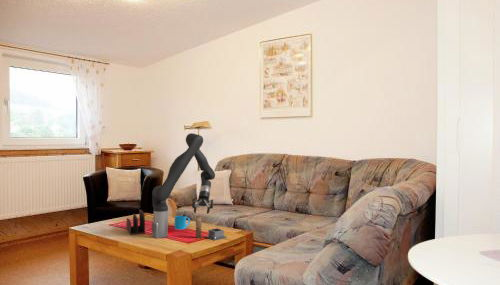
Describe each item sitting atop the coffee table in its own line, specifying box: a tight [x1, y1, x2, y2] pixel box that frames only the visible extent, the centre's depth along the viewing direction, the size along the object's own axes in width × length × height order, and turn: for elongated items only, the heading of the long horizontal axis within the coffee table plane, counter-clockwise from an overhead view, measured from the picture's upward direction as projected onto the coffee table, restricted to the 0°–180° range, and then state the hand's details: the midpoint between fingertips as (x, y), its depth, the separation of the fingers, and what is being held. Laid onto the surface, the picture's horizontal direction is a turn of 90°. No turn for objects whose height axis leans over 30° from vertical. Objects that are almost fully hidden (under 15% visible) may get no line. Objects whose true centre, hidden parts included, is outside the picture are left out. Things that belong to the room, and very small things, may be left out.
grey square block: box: [205, 227, 228, 241], centre depth 247 cm, size 10×10×5 cm
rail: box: [195, 215, 203, 239], centre depth 246 cm, size 4×4×14 cm
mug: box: [174, 215, 191, 230], centre depth 273 cm, size 12×8×8 cm
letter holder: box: [125, 209, 146, 236], centre depth 261 cm, size 10×20×14 cm, turn 25°
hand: (201, 212), depth 254 cm, fingers open, 8 cm apart
